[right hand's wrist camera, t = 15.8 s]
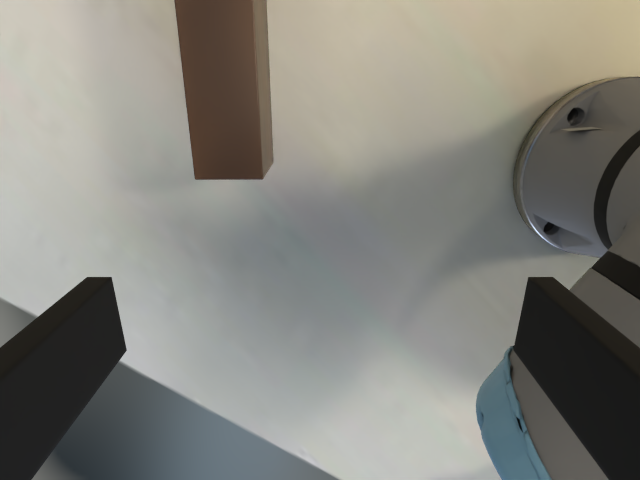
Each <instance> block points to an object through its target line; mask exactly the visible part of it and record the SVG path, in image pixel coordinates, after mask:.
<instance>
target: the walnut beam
mask: <svg viewBox="0 0 640 480" xmlns="http://www.w3.org/2000/svg"><path fill="white" fill-rule="evenodd" d="M175 8H176V17H177V26H178V34H179V43H180V52H181V61H182V70H183V78H184V87H185V96H186V105H187V114H188V122H189V131H190V140H191V149H192V157H193V166H194V175H195V179H196V180H240V179H263V178H264V177H265V175H266V173H267V172H268V170H269V169H270V167H271V165H272V164H273V143H272V120H271V96H270V73H269V49H268V26H267V2H266V0H175Z"/></svg>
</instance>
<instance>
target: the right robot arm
mask: <svg viewBox="0 0 640 480" xmlns="http://www.w3.org/2000/svg"><path fill="white" fill-rule="evenodd" d="M513 189H514V197H515V202H516V205H517V208H518V210H519V213H520V215H521V217H522V218H523V220H524V222H525V223H526V224H527V225H528V227H529V228H530V229H531V230H532V231H533V232H534V233H536V234H537V235H538V236H539V237H541V238H542V239H544V240H545V241H547V242H548V243H550V244H551V245H553V246H555V247H557V248H559V249H561V250H564V251H567V252H570V253H575V254H580V255H586V256H593V257H600V259H599V260H598V261H597V262H596V263H595V264H594V265H593V267H591V268H590V269H589V270H588V271H587V272H586V273H585V274H584V275H583V276H582V277H581V278H580V279H579V280H578V281H577V283H576V284H575V285H574V286H573V287H572V288H571V289H570V290H568V289H567V288H566V287H564V286H563V285H562V284H561V283H559V282H558V281H557V280H556V279H554V278H553V277H528V282H527V287H526V292H525V297H524V301H523V306H522V311H521V316H520V321H519V326H518V331H517V335H516V340H515V345H514V346H511V347H510V348H509V349H508V350H507V351H506V352H505V355H504V359H503V360H502V361H501V362H500V364H499V365H498V366H497V367H496V368H495V369H494V371H493V372H492V373H491V374H490V375H489V377H488V378H487V379H486V380H485V381H484V383H483V384H482V386H481V387H480V389H479V392H478V395H477V400H476V413H477V421H478V424H479V427H480V429H481V435H482V439H483V442H484V444H485V447H486V449H487V451H488V454H489V456H490V458H491V460H492V462H493V464H494V466H495V468H496V470H497V472H498V474H499V475H500V477H501V479H502V480H640V77H619V78H609V79H603V80H599V81H595V82H592V83H590V84H587V85H584V86H582V87H580V88H578V89H576V90H574V91H572V92H570V93H569V94H567V95H566V96H564V97H563V98H561V99H560V100H558V101H557V102H556V103H555V104H554V105H552V106H551V107H550V108H549V109H548V110H547V111H546V112H545V113H544V114H543V115H542V116H541V117H540V118H539V120H538V121H537V122H536V123H535V125H534V126H533V127H532V129H531V130H530V132H529V133H528V135H527V137H526V139H525V141H524V142H523V144H522V147H521V149H520V151H519V154H518V157H517V160H516V165H515V169H514V177H513ZM604 276H605V277H604ZM607 278H608V279H607ZM126 351H127V350H126V345H125V340H124V335H123V331H122V326H121V321H120V316H119V311H118V306H117V301H116V297H115V292H114V287H113V282H112V277H87V278H85V279H84V280H83V281H82V282H81V283H79V284H78V285H77V286H76V287H74V288H73V289H72V290H71V291H70V292H68V293H67V294H66V295H65V296H63V297H62V298H61V299H60V300H58V301H57V302H56V303H55V304H54V305H52V306H51V307H50V308H49V309H47V310H46V311H45V312H44V313H42V314H41V315H40V316H39V317H38V318H36V319H35V320H34V321H33V322H31V323H30V324H29V325H28V326H26V327H25V328H24V329H23V330H22V331H20V332H19V333H18V334H17V335H15V336H14V337H13V338H12V339H10V340H9V341H8V342H7V343H6V344H4V345H3V346H2V347H1V348H0V480H31V479H32V478H33V477H34V475H35V474H36V473H37V471H38V470H39V469H40V467H41V466H42V465H43V463H44V462H45V460H46V459H47V458H48V456H49V455H50V454H51V452H52V451H53V450H54V448H55V447H56V445H57V444H58V443H59V441H60V440H61V439H62V437H63V436H64V435H65V433H66V432H67V431H68V429H69V428H70V426H71V425H72V424H73V422H74V421H75V420H76V418H77V417H78V416H79V414H80V413H81V412H82V410H83V409H84V408H85V406H86V405H87V403H88V402H89V401H90V399H91V398H92V397H93V395H94V394H95V393H96V391H97V390H98V388H99V387H100V386H101V384H102V383H103V382H104V380H105V379H106V378H107V376H108V375H109V374H110V372H111V371H112V369H113V368H114V367H115V365H116V364H117V363H118V361H119V360H120V359H121V357H122V356H123V355H124V353H125V352H126Z"/></svg>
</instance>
